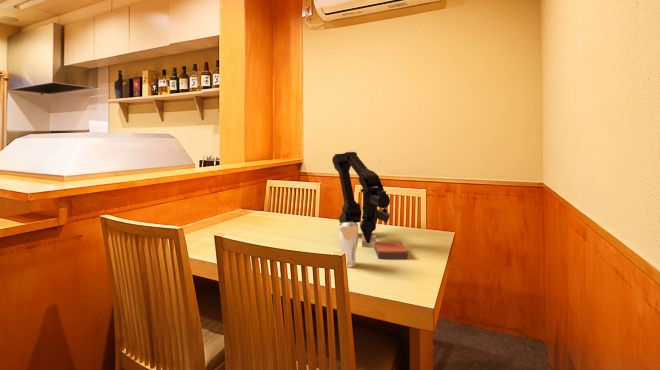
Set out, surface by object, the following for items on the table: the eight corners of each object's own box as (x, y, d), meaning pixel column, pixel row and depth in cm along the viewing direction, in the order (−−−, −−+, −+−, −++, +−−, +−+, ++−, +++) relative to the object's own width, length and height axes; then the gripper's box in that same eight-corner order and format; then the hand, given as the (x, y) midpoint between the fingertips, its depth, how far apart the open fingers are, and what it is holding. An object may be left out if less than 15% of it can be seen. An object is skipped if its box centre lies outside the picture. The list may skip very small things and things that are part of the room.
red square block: (378, 260, 125) (378, 251, 125) (374, 250, 136) (374, 242, 136) (407, 260, 125) (407, 251, 125) (401, 250, 136) (401, 242, 135)
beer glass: (345, 259, 124) (345, 220, 122) (361, 263, 120) (361, 223, 118) (334, 265, 119) (334, 224, 117) (351, 269, 115) (351, 227, 113)
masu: (361, 247, 139) (362, 235, 138) (362, 243, 144) (363, 232, 143) (375, 248, 138) (375, 236, 137) (375, 243, 143) (376, 232, 142)
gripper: (388, 209, 128) (387, 248, 130) (389, 200, 146) (388, 234, 148) (360, 208, 130) (359, 246, 132) (364, 199, 148) (363, 233, 150)
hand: (368, 239), depth 141 cm, fingers open, 9 cm apart
